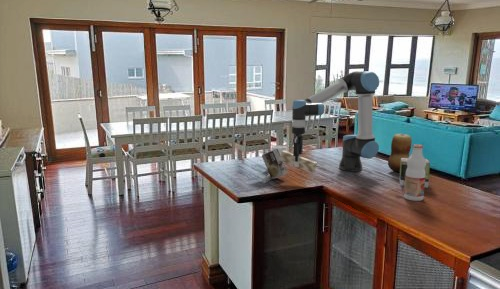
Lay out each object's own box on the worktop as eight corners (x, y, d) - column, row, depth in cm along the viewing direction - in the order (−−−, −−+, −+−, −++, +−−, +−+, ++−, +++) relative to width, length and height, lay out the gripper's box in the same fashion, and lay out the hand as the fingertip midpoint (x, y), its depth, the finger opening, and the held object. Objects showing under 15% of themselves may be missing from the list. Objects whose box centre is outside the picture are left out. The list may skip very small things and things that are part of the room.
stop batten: (276, 174, 242) (276, 171, 241) (265, 183, 224) (265, 179, 223) (273, 174, 242) (273, 171, 242) (262, 182, 224) (262, 179, 224)
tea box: (426, 183, 223) (428, 158, 220) (428, 188, 213) (430, 162, 210) (398, 181, 227) (400, 157, 225) (399, 185, 218) (401, 160, 215)
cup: (285, 170, 251) (286, 148, 249) (270, 170, 253) (270, 148, 251) (287, 166, 262) (287, 145, 259) (272, 166, 264) (272, 145, 261)
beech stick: (314, 171, 221) (317, 162, 219) (312, 173, 218) (315, 163, 216) (282, 159, 231) (284, 150, 229) (279, 160, 229) (281, 151, 227)
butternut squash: (403, 175, 239) (406, 136, 234) (383, 171, 249) (386, 134, 244) (413, 171, 248) (416, 134, 243) (394, 168, 258) (396, 131, 253)
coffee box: (288, 172, 231) (277, 148, 231) (283, 175, 226) (272, 150, 226) (276, 176, 236) (266, 152, 236) (271, 179, 231) (261, 155, 231)
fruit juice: (401, 194, 202) (405, 143, 197) (420, 195, 201) (424, 143, 195) (406, 200, 193) (410, 146, 188) (425, 201, 191) (430, 147, 186)
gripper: (296, 124, 229) (295, 162, 233) (288, 128, 214) (287, 168, 218) (308, 125, 226) (307, 163, 231) (301, 129, 211) (300, 169, 215)
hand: (297, 165), depth 224 cm, fingers closed on beech stick, 3 cm apart
